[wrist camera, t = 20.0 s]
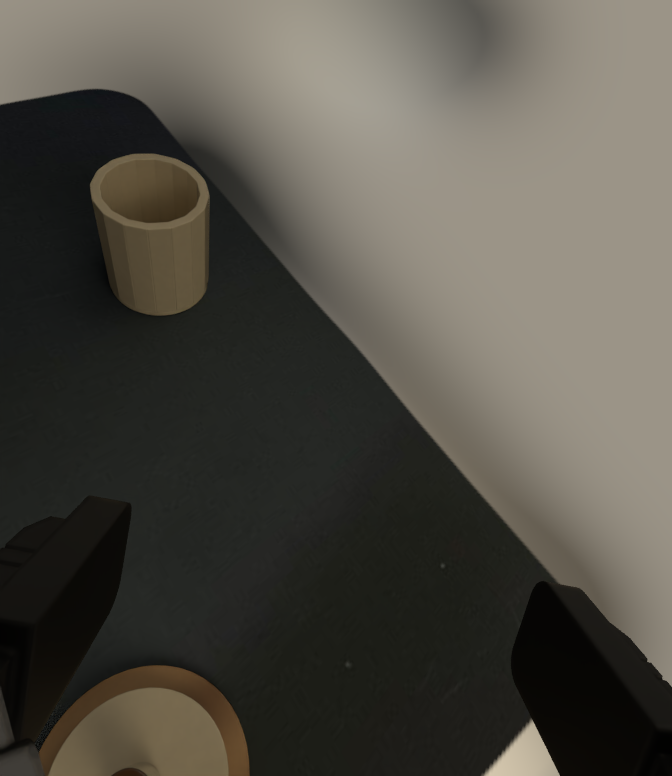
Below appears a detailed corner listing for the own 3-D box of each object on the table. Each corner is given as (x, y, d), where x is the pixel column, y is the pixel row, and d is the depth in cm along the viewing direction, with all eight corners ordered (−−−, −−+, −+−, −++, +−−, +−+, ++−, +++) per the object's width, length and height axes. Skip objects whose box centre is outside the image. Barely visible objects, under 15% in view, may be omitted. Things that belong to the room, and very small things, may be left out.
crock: (225, 273, 44) (229, 186, 37) (170, 331, 40) (162, 246, 33) (150, 232, 44) (140, 139, 37) (88, 285, 40) (64, 192, 33)
